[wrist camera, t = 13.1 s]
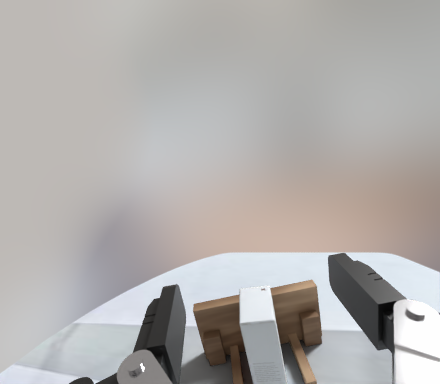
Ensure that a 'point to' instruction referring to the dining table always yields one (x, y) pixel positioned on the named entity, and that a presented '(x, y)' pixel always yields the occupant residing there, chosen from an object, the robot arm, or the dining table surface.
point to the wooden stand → (285, 319)
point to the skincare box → (261, 336)
